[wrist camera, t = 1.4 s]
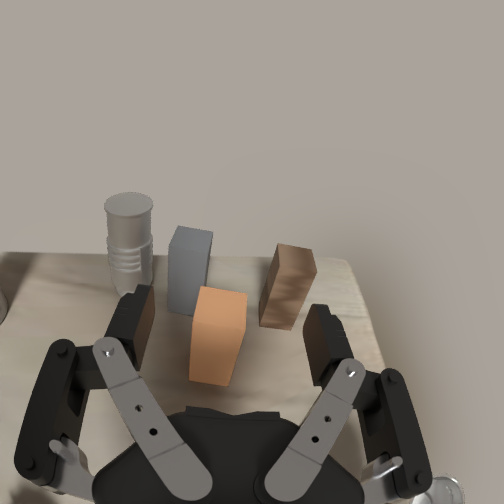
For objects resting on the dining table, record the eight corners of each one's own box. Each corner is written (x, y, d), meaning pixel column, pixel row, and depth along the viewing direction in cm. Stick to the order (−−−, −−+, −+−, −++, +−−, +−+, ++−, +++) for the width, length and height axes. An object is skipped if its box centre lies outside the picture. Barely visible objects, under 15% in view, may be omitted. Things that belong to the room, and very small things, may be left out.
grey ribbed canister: (131, 308, 40) (124, 222, 31) (104, 285, 42) (94, 202, 33) (162, 286, 45) (164, 204, 37) (134, 267, 47) (132, 188, 39)
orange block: (188, 380, 33) (192, 321, 26) (194, 349, 37) (200, 285, 30) (228, 386, 33) (245, 329, 26) (230, 355, 37) (247, 293, 30)
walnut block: (259, 326, 43) (279, 265, 36) (259, 303, 47) (277, 243, 40) (290, 330, 43) (317, 271, 36) (288, 307, 47) (311, 249, 40)
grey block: (167, 311, 41) (168, 245, 34) (174, 289, 45) (178, 225, 38) (200, 317, 42) (208, 253, 35) (204, 294, 46) (213, 231, 39)
